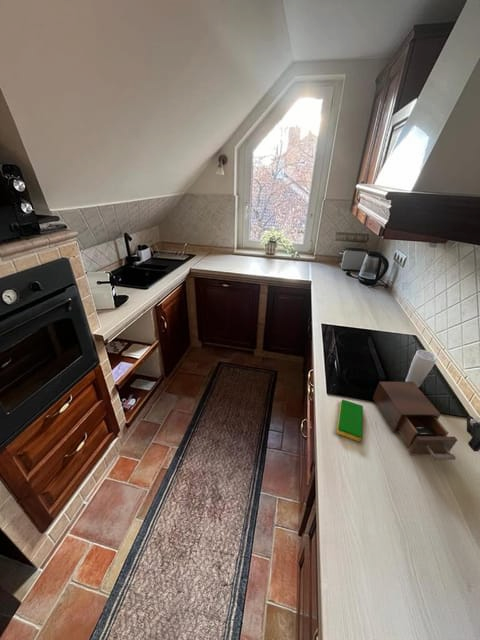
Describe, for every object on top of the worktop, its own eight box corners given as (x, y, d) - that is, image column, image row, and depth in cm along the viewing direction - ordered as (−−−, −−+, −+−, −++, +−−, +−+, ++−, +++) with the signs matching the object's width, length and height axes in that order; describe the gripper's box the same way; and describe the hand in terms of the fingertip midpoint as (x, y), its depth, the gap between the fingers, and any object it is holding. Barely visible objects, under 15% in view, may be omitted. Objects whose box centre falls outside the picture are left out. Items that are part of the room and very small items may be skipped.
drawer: (458, 468, 73) (469, 454, 70) (419, 468, 73) (428, 454, 69) (419, 417, 88) (427, 403, 85) (387, 417, 88) (393, 403, 85)
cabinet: (430, 432, 84) (441, 414, 80) (392, 432, 84) (401, 414, 80) (404, 398, 97) (412, 381, 93) (372, 398, 97) (379, 381, 92)
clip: (424, 432, 82) (428, 426, 80) (430, 441, 79) (435, 434, 77) (409, 432, 82) (413, 426, 80) (415, 441, 79) (419, 434, 77)
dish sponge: (361, 410, 91) (363, 405, 90) (359, 442, 80) (361, 437, 79) (340, 403, 94) (342, 399, 93) (336, 433, 83) (338, 428, 82)
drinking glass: (425, 391, 100) (440, 361, 93) (406, 388, 101) (421, 359, 94) (417, 379, 106) (431, 350, 99) (400, 377, 107) (413, 348, 100)
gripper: (504, 411, 49) (462, 463, 58) (573, 411, 49) (522, 463, 58) (472, 383, 56) (439, 434, 64) (534, 384, 56) (493, 434, 65)
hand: (479, 447), depth 61 cm, fingers closed
